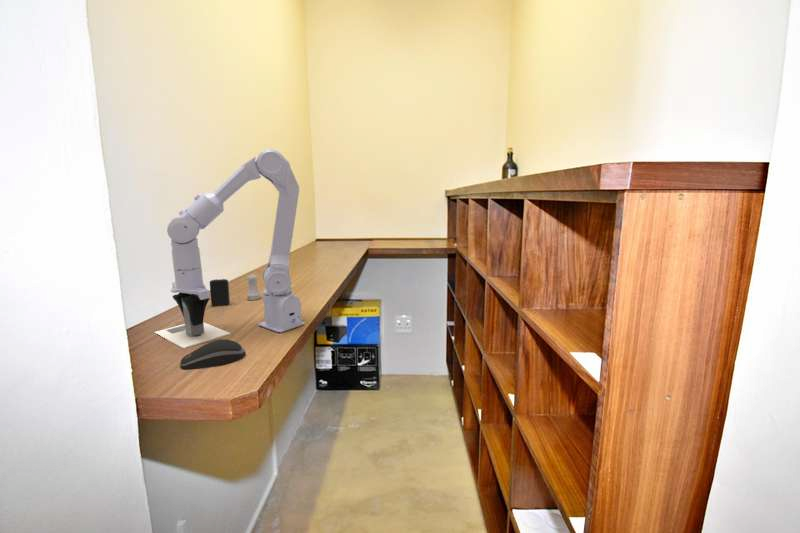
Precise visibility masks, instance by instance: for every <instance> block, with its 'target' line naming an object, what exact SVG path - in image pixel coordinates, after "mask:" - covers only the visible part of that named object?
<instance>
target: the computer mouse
mask: <svg viewBox="0 0 800 533" xmlns="http://www.w3.org/2000/svg"><path fill="white" fill-rule="evenodd" d="M244 356H245V357H246V351H245V349H244V348H243V346H242V345H241V344H240V343H239V342H237V341H235V340H232V339H227V338H226V339H224V338H223V339H215V340H212V341H211V342H210V341H209V342H207V343H205V344H204V345H202V346H200V347H198V348H197V349H195V350H193V351H192V352H190V353H188V354H186V355H185V356H183V357H182V358H181V359H180V363H179V364H180V368H181V369H182V370H184V371H190V370H192V371H193V370H200V369H207V368H214V367H220V366H224V365H229V364H232V363H235V361H236V362H238V361H241V360H242V358H243V357H244ZM245 357H244V358H245ZM244 358H243V359H244ZM240 359H241V360H240ZM237 360H238V361H237Z"/></svg>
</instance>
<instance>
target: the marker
mask: <svg viewBox="0 0 800 533" xmlns="http://www.w3.org/2000/svg"><path fill="white" fill-rule="evenodd" d="M189 297H191V296H189ZM185 298H186V297H185ZM181 299H182V298H181ZM182 306H183V313H184V317H183V319H184V324H185V329H186V334H188V335H190V336H195V335H199V334H202V333H204V324H199V325H196V326H193V324H192V322H191V319H190V315H189V312H188V309H187V307H186V305H185V303H184V302H183V301H182Z"/></svg>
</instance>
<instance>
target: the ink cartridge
mask: <svg viewBox="0 0 800 533" xmlns="http://www.w3.org/2000/svg"><path fill="white" fill-rule="evenodd" d="M229 285H230V284H229V279H226V278H225V279H224V278H221V279H212V280H210V281H209V293H210V301H211V302H210V303H211V306H212V307H223V306H229V305H230V304H231V299H230V286H229Z"/></svg>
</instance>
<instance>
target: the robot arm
mask: <svg viewBox="0 0 800 533" xmlns="http://www.w3.org/2000/svg"><path fill="white" fill-rule="evenodd" d="M262 177H264V179H266V180H268V181H269V182H271V184H272V185H273V187H274V188H275V190H276V191H277V192H278V197H277V206H276V211H275V212H276V213H275V219H274V220H275V221H274V227H273V232H272V233H273V235H272V240H271V241H272V242H271V247H270V248H271V249H270V253H269V257H268V263H267V264H266V267H265V268H264V270H263V272H262V279H263V282H264V287H265V288H264V289H263V290H262V298H263V311H264V312H263V313H264V321H262V322H258V324H257V325H258V326H260V327H263V328H266V329H267V330H270V331H273V332H277V333H279V332H280V333H284V332H286V331H288V330H292V329H294V328H297V327H298V328H299V327H301V326H303V325H305V322H304V321H303V318H302V317H303V316H302V303H301V300H300V299H299V297H298V296H296V295H295V294H294V292H293V288H292V287H291V284H292V278H291V275H290V255H291V249H292V242H293V236H294V235H293V234H294V230H295V229H294V228H295V220H296V215H297V208H298V201H299V194H300V185H299V183H298V181H297V179H296V176H295V174H294V172H293V169H292V168H291V164H290V162H289V161H288V159H286V158H285V156H284V155H283V154H282V153H281V152H279V151H278V150H276V149H273V148H267V149H264V150H262V151H261V152H260V153H259V154H258V156H254V157H252V158H251V159H249V160H248V161H246V162H244V163H243V164H241V165H240V167H239V168H238V169H237V170H235V171H234V172H233V173H232V174H231V175H230V176H229V177H228V178H227V179H226V180H225V181H224V182H223V183H222V184H221V185H220V186H219V187H218V188H217V189H216V190H214V192H213V193H212V192H203V193H201V195H200V194H197V195H195V196H194V198H193V200H194V201H193V202H192V203H191V204H190V205H189V206H188V207H187V208H185V209H184V210H183V209H181V210H180V211H179V212H178V215H179V216H180V217H174V218H172V219H171V221H170V222H169V224H168V225H167V230H166V233H167V236H168V237H169V238H170V239H171V240H170V242H171V243H170V245H171V257H172V264H173V272H174V280H175V282H172V283H171V284H172V288H171V289H170V292H171V293H173V295H172V299H173V300H174V301H175V302H176V303H177V305H178V307H179V309H180V312H181V314H182V317H183V318H184V313H183V306H182V301H183V302H184V303H185V305H186V307H187V309H188V312H189V315H190V319H191V322H192V324H193V326H196V325H199V324H203V322H204V317H205V313H206V312H205V311H206V308H207V305H208V303H209V301H210V300H211V293H210V289H207V287H206V285H205V284H204V279H203V278H204V277H203V268H202V263H201V262H202V261H201V259H202V258H201V251H200V248H199V244H198V243H199V241H198V237H197V236H198V235H199V233H200V230H204V229H206V228H207V227H208V226H209V225H210V224H211V223H213V222H214V221H215V219H216V218H218V216H220V215H221V214H222V213H223V212H224V209H225V208H224V203H225V202H226V201H227V200H228V199H230V198H231V197H232V196H233V195H234V194H235V193H236V192H237V191H239V190H240V189H241V188H242V187H243V186H245V185H246V184H247V183H248V182H251V181H254V180H259V179H261V178H262ZM189 296H191V297H189ZM185 297H186V298H185ZM181 298H182V299H181Z"/></svg>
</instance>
